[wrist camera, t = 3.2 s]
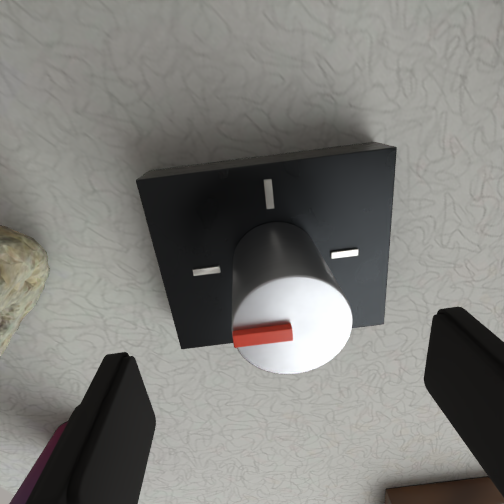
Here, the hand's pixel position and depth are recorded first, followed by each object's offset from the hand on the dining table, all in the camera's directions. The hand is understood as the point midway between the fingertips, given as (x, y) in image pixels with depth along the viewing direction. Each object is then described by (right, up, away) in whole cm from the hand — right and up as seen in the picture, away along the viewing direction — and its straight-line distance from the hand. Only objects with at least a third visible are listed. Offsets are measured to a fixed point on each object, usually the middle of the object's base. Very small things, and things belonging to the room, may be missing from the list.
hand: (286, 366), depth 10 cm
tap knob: (0, +3, +6) cm, 7 cm away
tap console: (0, +4, +9) cm, 10 cm away
